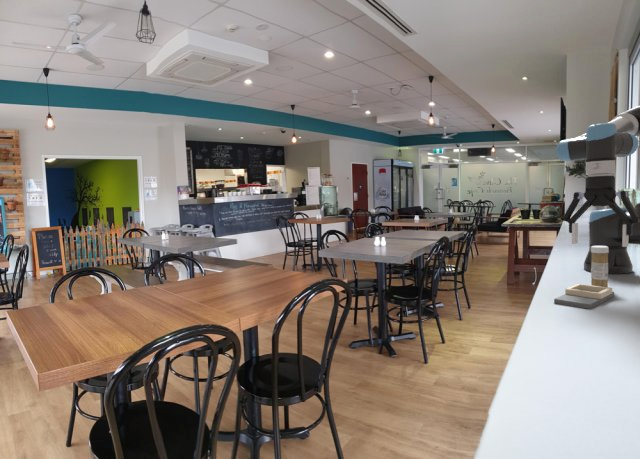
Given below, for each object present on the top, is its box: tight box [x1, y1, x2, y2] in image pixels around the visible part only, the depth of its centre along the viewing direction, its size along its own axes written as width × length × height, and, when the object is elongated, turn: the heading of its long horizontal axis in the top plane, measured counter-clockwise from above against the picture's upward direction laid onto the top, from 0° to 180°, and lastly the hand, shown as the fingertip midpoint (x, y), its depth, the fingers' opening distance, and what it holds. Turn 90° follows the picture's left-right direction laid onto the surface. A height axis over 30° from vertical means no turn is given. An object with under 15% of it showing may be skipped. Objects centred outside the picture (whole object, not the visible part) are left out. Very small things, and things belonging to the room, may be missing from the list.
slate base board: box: [553, 283, 615, 310], centre depth 119 cm, size 18×9×3 cm, turn 128°
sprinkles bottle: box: [590, 246, 609, 287], centre depth 130 cm, size 5×5×13 cm
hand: (599, 244), depth 129 cm, fingers open, 13 cm apart
